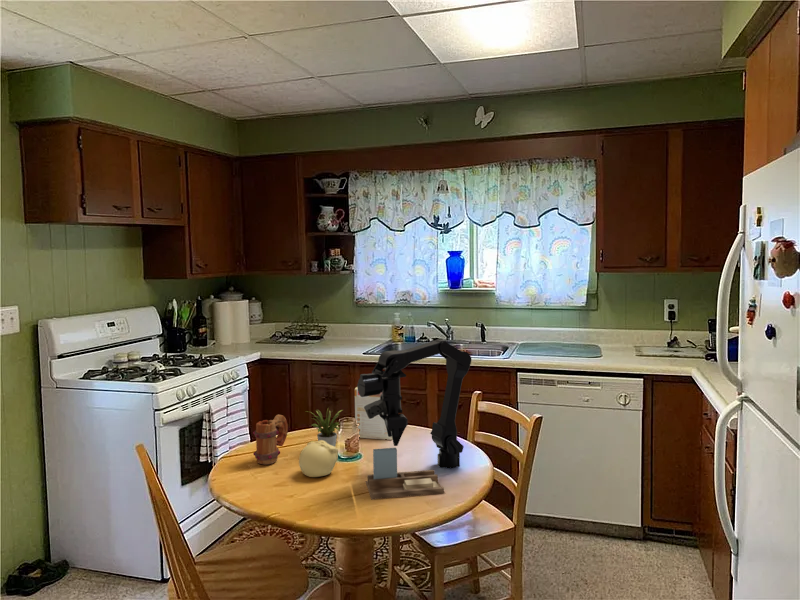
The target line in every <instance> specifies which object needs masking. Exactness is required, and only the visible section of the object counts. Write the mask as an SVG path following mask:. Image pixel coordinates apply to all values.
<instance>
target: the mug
mask: <svg viewBox="0 0 800 600" xmlns="http://www.w3.org/2000/svg"><path fill="white" fill-rule="evenodd" d="M277 427H278V428H277ZM288 429H289V425H288V421H287V419H286V416H285V415H282V414H276V415H275V416H274V418H273V419H270V420H268V419H263V420H261V421H258V422H256V424H255V430H254V431H253V432H252V434H253V435H254V437H255V443H256V444H255V445H256V446H255V447H256V450H255V451H253V456H254V457H255V459H256V462H257V464H261V465H264V466H265V465H268V466H269V465H272V464H274V463H276V462H277V461H278V457H279V455H280V454H281V450H280V449H279V447H283V446H284V444H285V442H286V439H287V436H288ZM277 446H278V447H277Z"/></svg>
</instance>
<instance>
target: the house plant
mask: <svg viewBox="0 0 800 600" xmlns="http://www.w3.org/2000/svg"><path fill="white" fill-rule="evenodd" d="M342 411H344V409H341V410H338V411H337V413H335V415H334V416H333V417H332V419H331V416H332V414H331V413H332V411H331V410H330V406H328V408H327V410H326V416H325V419H324V418H323V414H322V412H321V411H320V410H319V409H316V414H317V415H318V416H317V415H314V413H313V412H312V411H308V410H306V412H307V413H311V414H312V415H314V417H315V418H314V417H313V418H310V419H313V420H315V421H316V423H317V424H316V423H312V424H311V427H312V426H313V427H315V428H316V429H317V434H316V435H317V436H316V437H317V441H320V440H324V441H326V442H327V443H328V444H330V445H332V446H335V447H336V445H337V437H338V434H337V432H335V431H336V430H337V431H340V430H339V429H340V427H339V425H340V423H339V422H340V421H337V422H335V420H336V419H337V418H338V417H339V416H340V413H341V412H342Z"/></svg>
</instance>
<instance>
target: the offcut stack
mask: <svg viewBox="0 0 800 600" xmlns="http://www.w3.org/2000/svg"><path fill="white" fill-rule="evenodd" d="M434 487H439V486H438V485H437V483H436V481H433V482H432V480H431V478H425V479H413V480H404V484H403V489H404V490H410V489H422V488H434Z"/></svg>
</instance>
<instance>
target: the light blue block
mask: <svg viewBox="0 0 800 600" xmlns="http://www.w3.org/2000/svg"><path fill="white" fill-rule="evenodd" d="M372 453H373V454H372V460H373V461H372V464H373V465H372V466H373V467H372V468H373V469H372V470H373V475H374V479H384V478H397V473H398V450H397V448H396V447H387V448H386V447H385V448H373V449H372Z"/></svg>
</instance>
